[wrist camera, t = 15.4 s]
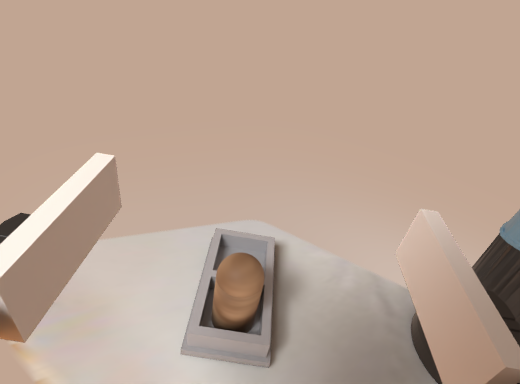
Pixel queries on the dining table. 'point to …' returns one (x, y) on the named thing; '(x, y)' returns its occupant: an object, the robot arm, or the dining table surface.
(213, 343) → the two-compartment grey tray
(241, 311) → the wooden dome-top peg
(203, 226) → the dining table surface
